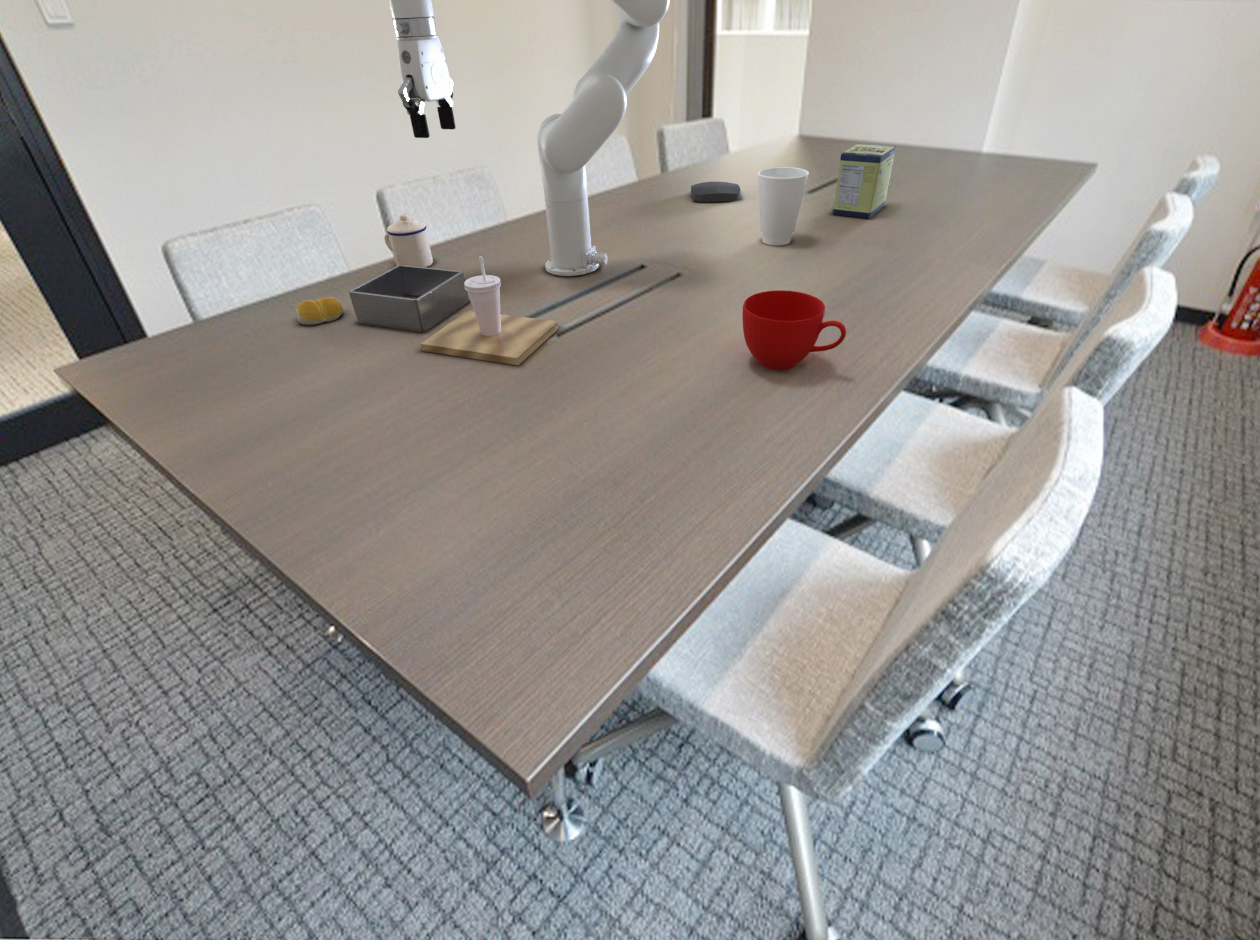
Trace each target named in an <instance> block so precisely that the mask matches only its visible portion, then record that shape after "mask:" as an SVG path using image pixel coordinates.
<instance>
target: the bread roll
mask: <svg viewBox="0 0 1260 940" xmlns="http://www.w3.org/2000/svg"><path fill="white" fill-rule="evenodd" d="M294 311H295V313H296V319H297V322H298V323H299V324H301V325H305V326H310V325H312V326H313V325H318V324H323V323H325V322H333V321H335V320H338V319H339V318H340V316H342V314H343V313H344V307H343V304H342V303H341V302H340V300H338V299H337V298H335V297H332V296H326V297H320V298H316V299H315V300H311V299H307V300H301V301H300V302H298V303H297V304H296V307H295V310H294Z"/></svg>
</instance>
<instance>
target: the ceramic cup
mask: <svg viewBox="0 0 1260 940" xmlns="http://www.w3.org/2000/svg"><path fill="white" fill-rule="evenodd" d="M825 314H826V305H825V303H824V302H823V301H822V300H821V299H820V298H818V297H817V296H814V295H812V294H809V293H806V292H805V293H804V292H800V291H795V290H786V289H785V290H784V289H782V290H779V289H778V290H766V291H761V292H757V293H753V294H752V295H750V296H748V297H747V298H746V299H745V300H744V302H743V304H742V331H743V337H744V342H745V344H746V347H747V349H748V350H749V352H750V354H751V355H752V356H753V358H754V359H755V360H756V361H757V363H758V365H760V366H761V367H763V368H766V369H768V370H773V371H785V370H790V369H793V368H795V367H797V365H798V364H799V363H801V362H802V361H803V360H804V359H805V358H806V357H807V356H808V355H809V354H810V353H817V352H825V351H829V350H833V349H835V348H837V347H838V346H839V345H841V344H842V342H843V341H844V340H845V338H846V336H847V328H846V326H845V324H844V323H843V322H841V321H839V320H835V319H833V320H827V321H824V318H825ZM828 327H836V328H838V329H839V331H840V337H839V338H838V339H837V340H836V341H834V342H832V343H830V344H825V345H816V343H817V341H818V339H819V337H820V334H821V332H822V331H824V329H826V328H828Z"/></svg>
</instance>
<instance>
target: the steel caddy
mask: <svg viewBox="0 0 1260 940" xmlns="http://www.w3.org/2000/svg"><path fill="white" fill-rule="evenodd" d="M465 281H466V280H465V275H464V271H461V270H454V269H444V268H436V267H417V266H408V265H398V266H397V265H396V266H394V267H392V268H390V269H388V270H386V271H384V272H382V273H380V274H379V275H376V276H375V277H373V278H371V279H369V280H368V281H365V282H364V283H362V284H359V285H358V286H355V287H354V288H352V289H350V290H348V294H349V297H350V300H351V304H352V307H353V310H354V314H355V317H356V320H357V323H359V324H360V325H368V326H375V327H380V328H381V327H382V328H390V329H396V330H403V331H409V332H417V333H426V332H428V331H429V330H431V329H432V328H433V327H435V326H437V325H438V324H439V323H441V322H442V321H443V320H445V319H447V318H448V317H450V316H451V315H452V314H454V313H455V312H457V311H458V310H460V309H461V308H463V307H464V306H465V305H467V304H469V303H470V301H469V300H470V299H469V294H468V291H466V290H465V285H464V282H465ZM407 296H410V297H411V296H412V297H417V298H409V297H407Z"/></svg>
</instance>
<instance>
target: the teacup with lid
mask: <svg viewBox="0 0 1260 940" xmlns="http://www.w3.org/2000/svg"><path fill="white" fill-rule="evenodd" d="M398 218H399V219H397V220H395V221H394V223H392V224H389V225H388V226H387V228H386V233H385V234H384V235H383V237H384V243H385V245H386V247H387V248H388V250H389V251H391V252H392V253H393V257H394V261H395V265H396V266H398V265H408V266H417V267H427V268H429V267H430V266H432V264H433V262H434V260H433V255H432V250H431V246H430V242H429V237H428V232H427V225H426V223H425V222H423V221H421V220H415V219H414V218H410V217H409V215H408V214H407V213H403V214H400V215H399V217H398Z"/></svg>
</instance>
